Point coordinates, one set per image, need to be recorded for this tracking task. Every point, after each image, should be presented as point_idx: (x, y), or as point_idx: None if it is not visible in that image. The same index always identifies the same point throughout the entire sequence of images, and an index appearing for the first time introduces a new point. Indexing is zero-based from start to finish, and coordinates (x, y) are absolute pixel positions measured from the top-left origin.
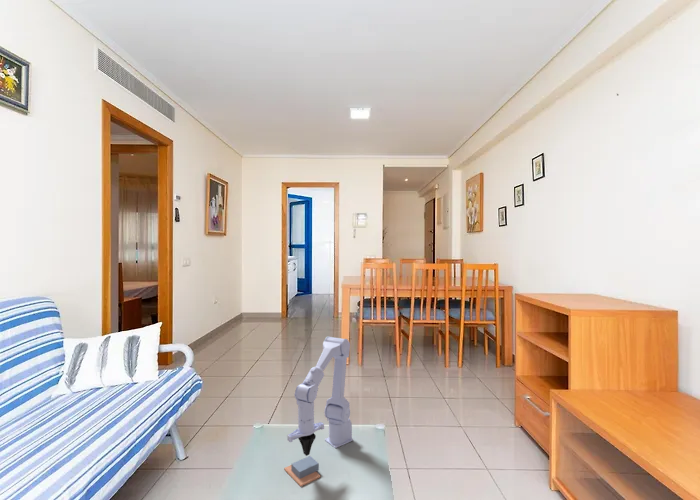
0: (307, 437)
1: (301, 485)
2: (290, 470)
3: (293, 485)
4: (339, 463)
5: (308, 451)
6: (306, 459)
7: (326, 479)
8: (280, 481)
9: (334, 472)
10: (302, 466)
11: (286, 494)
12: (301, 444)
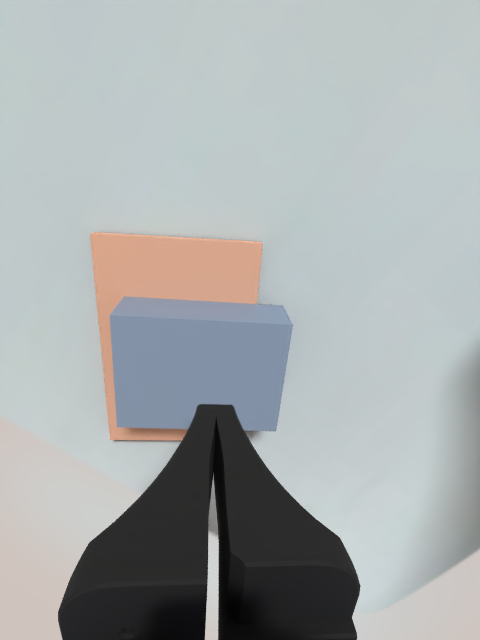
0: (223, 630)
1: (114, 438)
2: (118, 292)
3: (85, 394)
4: (407, 403)
5: (214, 484)
6: (239, 345)
7: (259, 456)
8: (25, 318)
9: (328, 441)
10: (166, 394)
11: (20, 427)
12: (168, 469)
